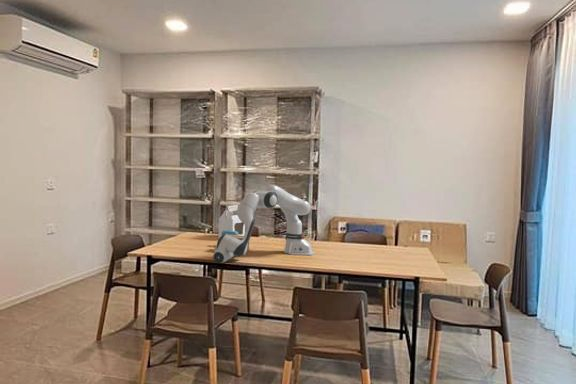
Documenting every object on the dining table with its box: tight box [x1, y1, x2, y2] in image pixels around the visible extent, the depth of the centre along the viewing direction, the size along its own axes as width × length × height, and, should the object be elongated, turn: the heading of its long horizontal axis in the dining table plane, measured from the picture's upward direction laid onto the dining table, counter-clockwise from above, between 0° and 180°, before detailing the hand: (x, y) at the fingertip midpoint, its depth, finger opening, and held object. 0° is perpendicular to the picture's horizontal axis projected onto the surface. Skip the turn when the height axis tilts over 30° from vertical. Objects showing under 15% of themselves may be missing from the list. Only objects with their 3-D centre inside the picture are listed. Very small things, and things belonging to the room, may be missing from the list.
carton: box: [231, 235, 250, 253], centre depth 313 cm, size 18×10×11 cm, turn 79°
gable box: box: [218, 204, 246, 239], centre depth 365 cm, size 22×13×28 cm, turn 158°
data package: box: [222, 230, 238, 235], centre depth 329 cm, size 12×4×12 cm, turn 74°
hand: (233, 248), depth 294 cm, fingers open, 8 cm apart
